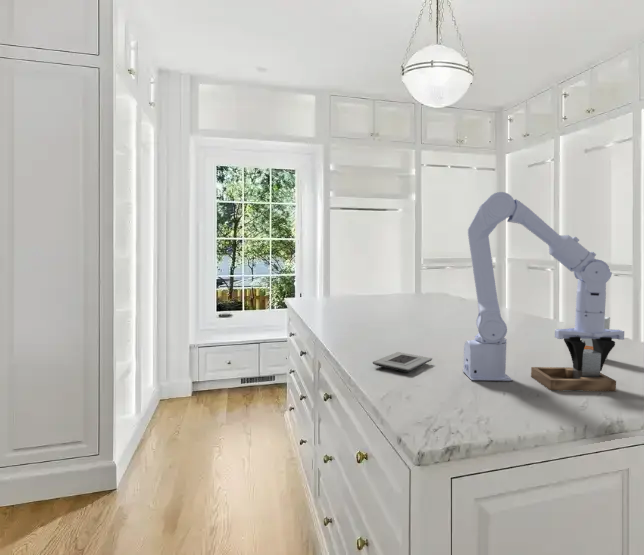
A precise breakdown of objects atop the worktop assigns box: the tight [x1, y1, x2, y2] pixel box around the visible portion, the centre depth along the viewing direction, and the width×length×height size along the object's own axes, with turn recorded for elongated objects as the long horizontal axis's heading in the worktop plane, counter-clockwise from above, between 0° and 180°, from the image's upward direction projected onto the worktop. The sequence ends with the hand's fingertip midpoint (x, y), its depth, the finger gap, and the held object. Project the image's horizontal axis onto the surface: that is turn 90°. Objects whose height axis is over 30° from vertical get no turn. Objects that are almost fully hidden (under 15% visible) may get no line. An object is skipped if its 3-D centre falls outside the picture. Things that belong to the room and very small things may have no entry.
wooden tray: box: [530, 366, 617, 392], centre depth 101 cm, size 14×10×2 cm
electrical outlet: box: [372, 351, 433, 373], centre depth 116 cm, size 13×10×2 cm
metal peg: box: [572, 349, 601, 379], centre depth 101 cm, size 4×4×7 cm
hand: (587, 369), depth 101 cm, fingers closed on metal peg, 4 cm apart
